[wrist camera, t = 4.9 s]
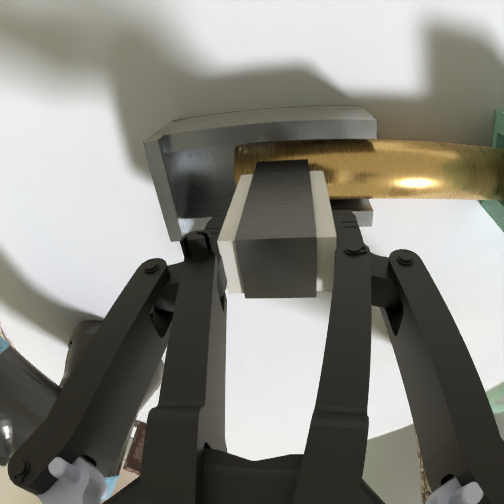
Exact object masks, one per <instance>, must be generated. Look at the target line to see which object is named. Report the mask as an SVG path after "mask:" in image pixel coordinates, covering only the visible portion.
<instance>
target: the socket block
mask: <svg viewBox="0 0 504 504" xmlns="http://www.w3.org/2000/svg"><path fill="white" fill-rule="evenodd" d="M492 147H493V148H500V149H504V111H501V110H496V112H495V123H494V133H493V141H492ZM481 206H482V207H483V208H484V209H485V210H486V212H487V213H488V214H489V215H490V216H491V217H492V219H493V220H494V221H495V222H496V223H497V225H498V226H499V227H500V228H501V230H502V231H503V232H504V201H495V200H482V204H481Z"/></svg>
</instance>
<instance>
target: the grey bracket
mask: <svg viewBox="0 0 504 504" xmlns="http://www.w3.org/2000/svg"><path fill="white" fill-rule="evenodd" d="M326 139H377V120H376V119H375V118H374V117H373V116H372V115H371V114H370V113H369V112H368V111H367V110H365V109H364V108H363V107H362V106H307V107H287V108H272V109H259V110H248V111H239V112H230V113H221V114H213V115H206V116H199V117H193V118H186V119H180V120H174V121H172V122H171V123H169V124H168V125H166V126H165V127H164V128H162V129H161V130H160V131H158V132H157V133H155V134H154V135H153V136H151V137H150V138H149V139H147V140H146V141H145V142H144V147H145V151H146V155H147V159H148V162H149V166H150V170H151V174H152V178H153V181H154V185H155V189H156V192H157V196H158V199H159V203H160V206H161V210H162V213H163V217H164V220H165V224H166V227H167V230H168V234H169V237H170V240H171V242H173V241H180V240H181V238H182V237H183V236H184V235H185V234H187V233H190V232H192V231H196V230H205V226H206V224H207V222H208V221H209V220H211V219H212V218H213V217H218V216H226V215H227V212H228V210H229V207H230V204H231V201H232V199H233V196H234V193H235V190H236V185H235V177H234V152H235V148H236V146H237V145H239V144H251V143H264V142H279V141H297V140H326ZM330 205H331V210H350V211H351V212H352V213H353V214H355V216H356V219H357V223H358V225H359V227H365V226H372V219H373V209H372V207H371V205H370V202H369V200H368V199H331V200H330Z"/></svg>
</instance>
